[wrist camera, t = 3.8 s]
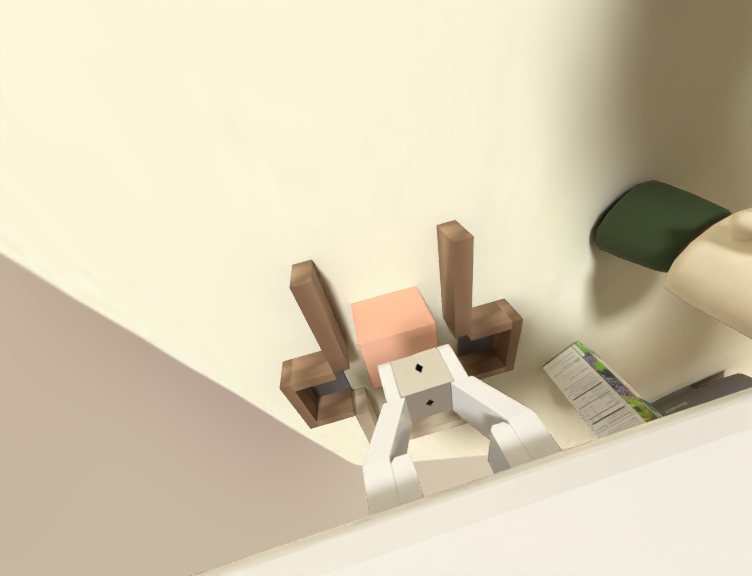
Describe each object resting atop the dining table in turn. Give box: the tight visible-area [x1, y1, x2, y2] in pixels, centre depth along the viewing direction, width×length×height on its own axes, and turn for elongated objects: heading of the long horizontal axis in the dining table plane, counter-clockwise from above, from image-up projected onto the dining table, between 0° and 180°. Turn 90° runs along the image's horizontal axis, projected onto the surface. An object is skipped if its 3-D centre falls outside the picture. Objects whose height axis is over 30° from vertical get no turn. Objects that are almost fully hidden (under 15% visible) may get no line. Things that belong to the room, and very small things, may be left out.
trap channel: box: [280, 220, 523, 443], centre depth 28 cm, size 23×28×3 cm
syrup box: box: [542, 342, 663, 438], centre depth 30 cm, size 6×6×14 cm
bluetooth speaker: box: [650, 373, 752, 417], centre depth 48 cm, size 23×9×10 cm, turn 132°
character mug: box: [595, 180, 752, 339], centre depth 18 cm, size 11×7×13 cm, turn 49°
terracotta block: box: [351, 286, 438, 389], centre depth 24 cm, size 6×6×5 cm
